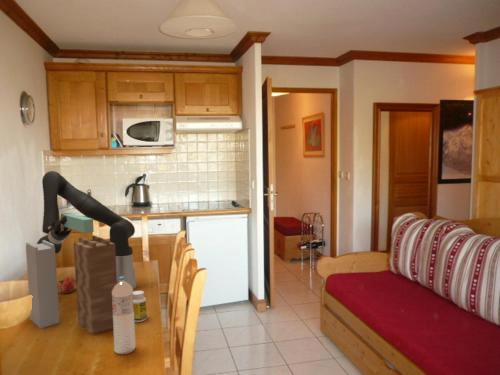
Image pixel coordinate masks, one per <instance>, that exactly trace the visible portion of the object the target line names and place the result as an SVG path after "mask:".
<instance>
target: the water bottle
mask: <svg viewBox="0 0 500 375" xmlns="http://www.w3.org/2000/svg"><path fill="white" fill-rule="evenodd" d="M124 280H125V277H124V276H121V277H119V282H118V283H117V284H116V285H115V286H114V287H113V289H112V291H111V294H112V306H113V329H112V331H113V349H114V353H116V355H127V354H130V353H132V352H134V351H135V349H136V330H135V329H136V328H135V326H136V325H135V322H134V309H133V292H134V289H133V288H132V286H131V285H130V284H129V283H127V282H126V281H124Z"/></svg>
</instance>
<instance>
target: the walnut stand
mask: <svg viewBox="0 0 500 375" xmlns="http://www.w3.org/2000/svg"><path fill="white" fill-rule="evenodd" d="M91 238H92V239H87V238H83V237H78V241H76V242H73V251H74V252H73V253H74V254H73V255H74V269H75V271H74V272H75V290H76V291H75V292H76V307H77V308H76V309H77V322H78V325H79V326H81V327H82V328H84V329H85V330H86V331H88V332H89V334H91V335H97V334H100V333H103V332H106V331H109V330H113V306H112V294H111V291H112V289H113V287H114V286H115V285H116V284H117V273H116V252H115V244H114V243H111V242H110V239H106V238H104V237H101V236H97V235H91Z"/></svg>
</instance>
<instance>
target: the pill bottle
mask: <svg viewBox="0 0 500 375" xmlns="http://www.w3.org/2000/svg"><path fill="white" fill-rule="evenodd" d="M133 309H134V323H141V322H145V321H146V320H147V317H148V315H147V298H146V297H145V292H144V291H143V290H135V291H134V290H133Z"/></svg>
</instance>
